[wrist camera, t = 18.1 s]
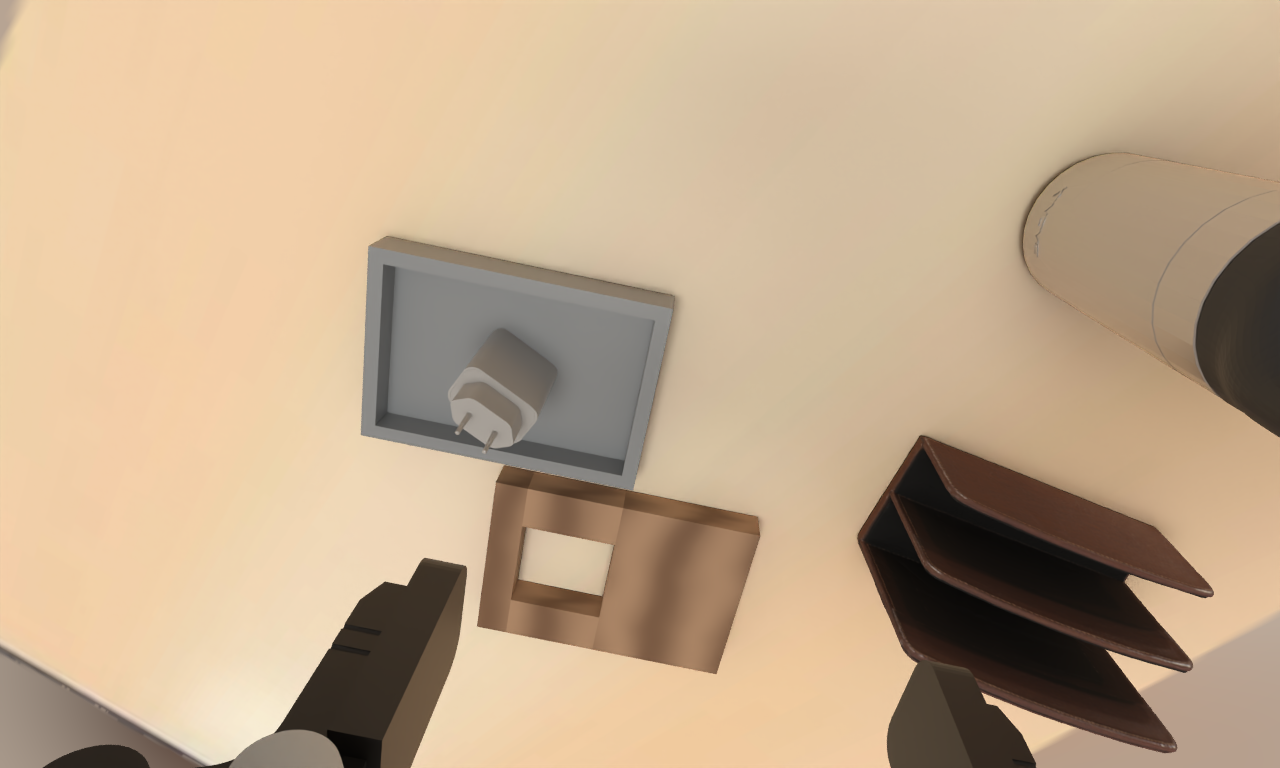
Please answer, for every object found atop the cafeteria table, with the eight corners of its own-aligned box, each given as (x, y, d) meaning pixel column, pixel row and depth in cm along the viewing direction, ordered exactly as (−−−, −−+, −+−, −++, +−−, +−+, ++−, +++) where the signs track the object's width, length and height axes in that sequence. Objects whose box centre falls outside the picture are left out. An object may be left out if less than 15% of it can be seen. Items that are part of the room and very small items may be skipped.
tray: (674, 296, 49) (673, 309, 47) (636, 469, 55) (632, 490, 52) (386, 236, 49) (368, 246, 46) (377, 416, 55) (360, 434, 52)
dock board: (757, 517, 56) (760, 536, 54) (715, 651, 62) (716, 674, 59) (504, 465, 56) (495, 482, 53) (485, 605, 61) (477, 626, 59)
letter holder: (1076, 620, 58) (1185, 776, 45) (853, 536, 56) (901, 674, 44) (1155, 525, 54) (1300, 667, 41) (919, 431, 53) (993, 549, 40)
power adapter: (499, 323, 50) (445, 394, 39) (561, 370, 51) (525, 452, 40) (474, 355, 51) (415, 433, 40) (536, 400, 52) (494, 488, 42)
